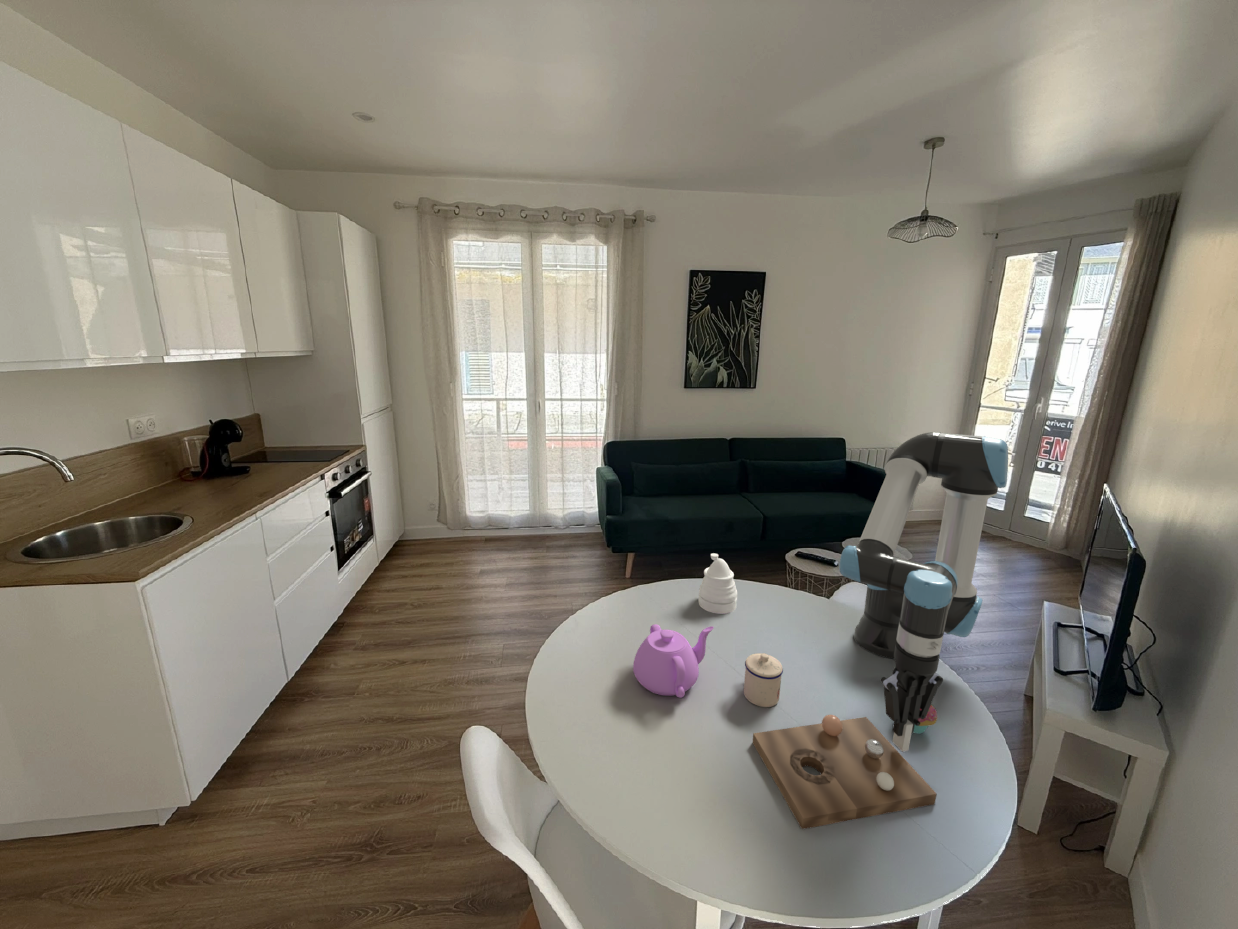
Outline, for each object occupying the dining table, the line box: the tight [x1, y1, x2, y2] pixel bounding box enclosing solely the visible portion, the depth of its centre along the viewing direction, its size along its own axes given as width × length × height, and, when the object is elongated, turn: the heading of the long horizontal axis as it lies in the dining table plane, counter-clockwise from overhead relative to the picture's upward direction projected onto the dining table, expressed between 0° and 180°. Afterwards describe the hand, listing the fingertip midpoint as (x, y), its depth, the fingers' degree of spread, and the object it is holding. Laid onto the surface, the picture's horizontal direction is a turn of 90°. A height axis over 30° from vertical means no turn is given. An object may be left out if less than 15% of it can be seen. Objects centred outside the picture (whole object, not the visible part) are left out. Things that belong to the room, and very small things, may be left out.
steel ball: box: [865, 739, 884, 759], centre depth 99 cm, size 4×4×4 cm
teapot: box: [632, 623, 715, 698], centre depth 125 cm, size 22×22×14 cm
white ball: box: [876, 772, 894, 791], centre depth 92 cm, size 3×3×3 cm
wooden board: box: [752, 716, 937, 830], centre depth 99 cm, size 28×20×2 cm
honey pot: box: [698, 552, 738, 615], centre depth 162 cm, size 13×13×18 cm
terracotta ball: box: [821, 714, 843, 736], centre depth 105 cm, size 4×4×4 cm
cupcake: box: [913, 703, 938, 734], centre depth 110 cm, size 9×8×12 cm
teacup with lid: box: [743, 653, 784, 708], centre depth 121 cm, size 12×9×12 cm
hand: (900, 746), depth 101 cm, fingers closed
